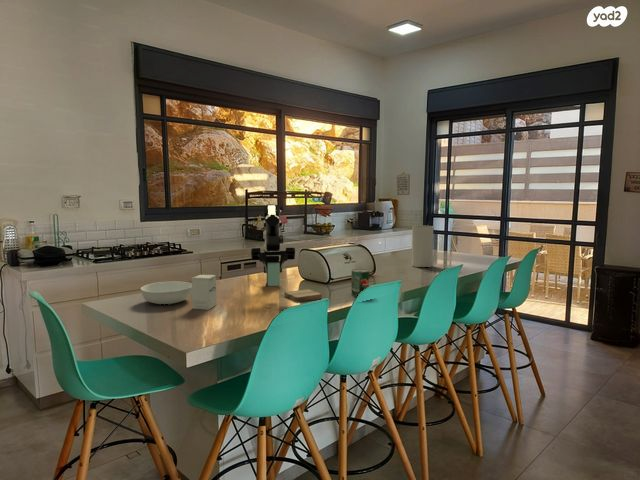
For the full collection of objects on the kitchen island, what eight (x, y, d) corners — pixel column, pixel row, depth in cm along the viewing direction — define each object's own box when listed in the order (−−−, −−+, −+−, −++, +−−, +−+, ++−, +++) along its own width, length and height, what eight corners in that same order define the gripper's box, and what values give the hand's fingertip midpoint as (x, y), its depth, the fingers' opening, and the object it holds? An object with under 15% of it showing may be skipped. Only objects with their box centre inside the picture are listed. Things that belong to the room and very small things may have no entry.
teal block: (267, 283, 192) (267, 262, 191) (279, 283, 193) (279, 262, 192) (267, 285, 187) (267, 264, 186) (279, 285, 188) (279, 264, 187)
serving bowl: (129, 305, 182) (129, 289, 182) (165, 294, 202) (164, 279, 201) (171, 310, 175) (170, 293, 174) (203, 298, 194) (203, 283, 193)
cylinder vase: (431, 268, 269) (432, 227, 267) (410, 267, 274) (410, 226, 271) (433, 265, 281) (434, 225, 278) (413, 264, 285) (414, 225, 283)
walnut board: (284, 297, 198) (284, 292, 198) (308, 294, 204) (308, 289, 204) (297, 303, 188) (297, 297, 187) (321, 299, 194) (321, 294, 194)
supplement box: (209, 309, 175) (208, 278, 174) (191, 309, 177) (190, 277, 176) (217, 305, 183) (216, 274, 181) (200, 304, 184) (199, 274, 183)
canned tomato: (352, 292, 206) (352, 268, 205) (369, 292, 205) (369, 269, 204) (350, 295, 199) (350, 271, 198) (368, 296, 197) (368, 272, 196)
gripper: (250, 229, 190) (250, 258, 181) (294, 228, 193) (296, 257, 183) (251, 245, 199) (251, 274, 189) (293, 244, 201) (295, 273, 192)
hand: (273, 269), depth 188 cm, fingers closed on teal block, 5 cm apart
